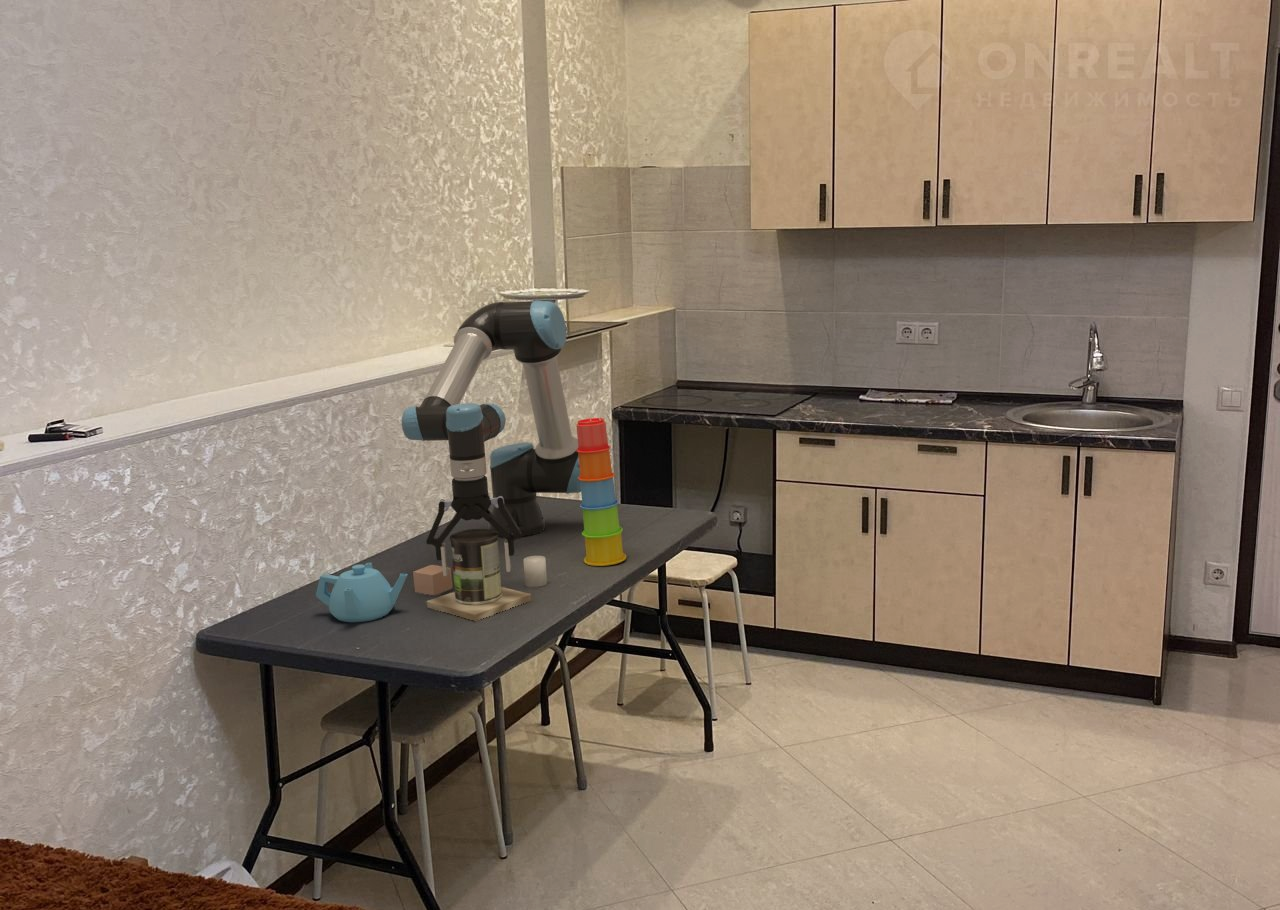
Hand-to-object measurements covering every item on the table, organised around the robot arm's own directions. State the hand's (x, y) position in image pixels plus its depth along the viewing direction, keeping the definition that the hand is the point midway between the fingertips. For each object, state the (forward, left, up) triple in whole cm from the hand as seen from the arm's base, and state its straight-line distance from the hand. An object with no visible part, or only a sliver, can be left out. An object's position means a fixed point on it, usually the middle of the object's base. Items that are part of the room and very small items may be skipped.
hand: (477, 572), depth 254 cm
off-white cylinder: (-17, 0, -7) cm, 18 cm away
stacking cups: (-39, +1, -7) cm, 40 cm away
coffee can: (0, 0, -6) cm, 6 cm away
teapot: (+18, -17, -8) cm, 26 cm away
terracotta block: (-1, -17, -7) cm, 18 cm away
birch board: (0, 0, -7) cm, 7 cm away
